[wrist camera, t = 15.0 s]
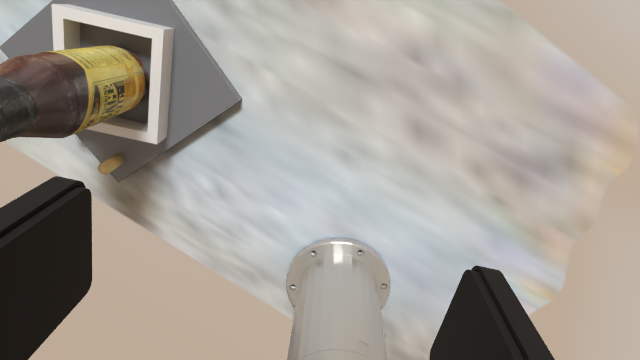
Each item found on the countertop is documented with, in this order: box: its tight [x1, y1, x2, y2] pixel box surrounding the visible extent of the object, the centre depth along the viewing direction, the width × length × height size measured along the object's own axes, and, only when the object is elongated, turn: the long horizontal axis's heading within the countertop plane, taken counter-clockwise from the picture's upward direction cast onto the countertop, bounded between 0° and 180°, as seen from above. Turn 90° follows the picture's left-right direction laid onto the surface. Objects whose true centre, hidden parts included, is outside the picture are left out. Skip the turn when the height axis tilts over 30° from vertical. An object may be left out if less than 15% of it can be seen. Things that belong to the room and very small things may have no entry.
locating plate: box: [0, 0, 242, 182], centre depth 40 cm, size 17×17×4 cm
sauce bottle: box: [0, 46, 149, 142], centre depth 31 cm, size 7×6×20 cm
